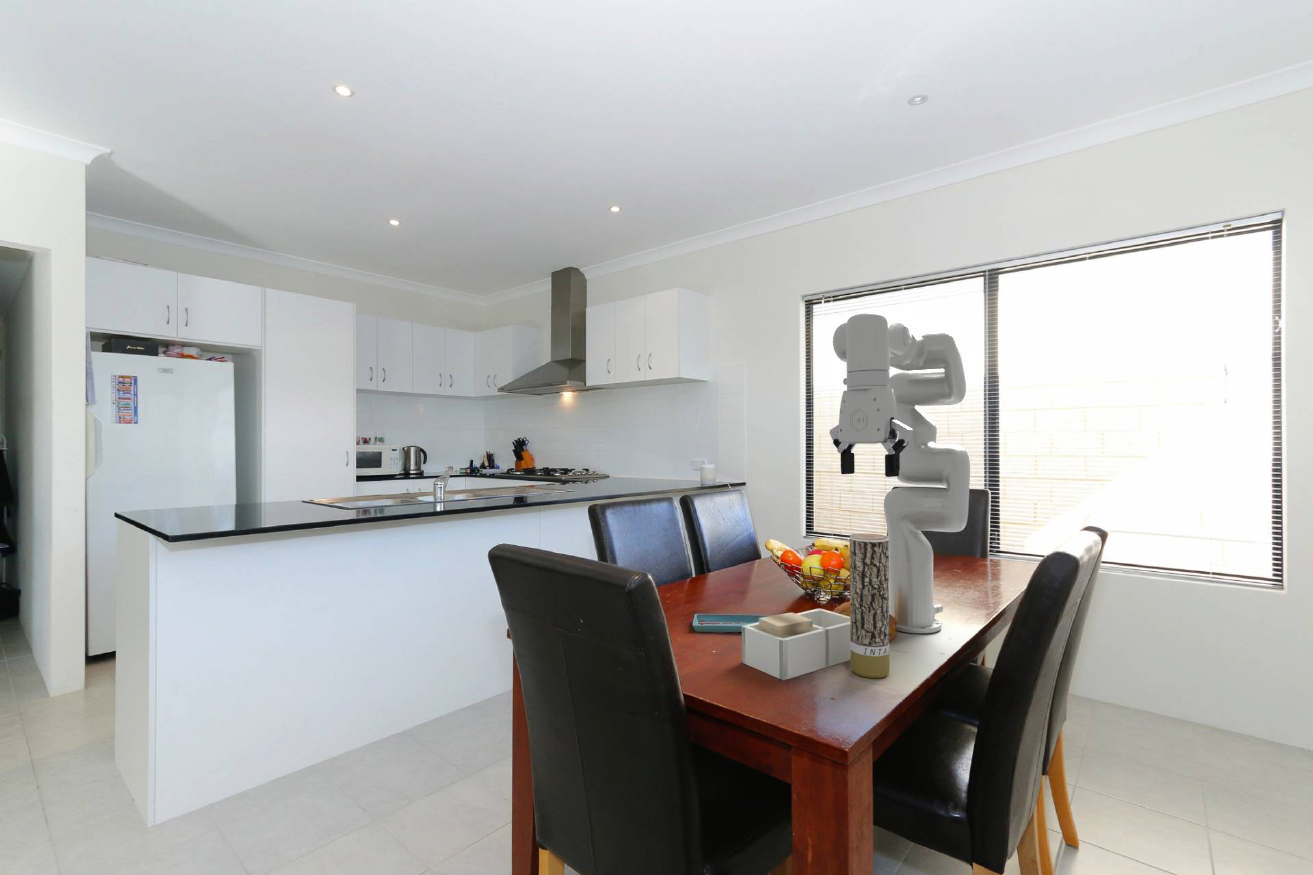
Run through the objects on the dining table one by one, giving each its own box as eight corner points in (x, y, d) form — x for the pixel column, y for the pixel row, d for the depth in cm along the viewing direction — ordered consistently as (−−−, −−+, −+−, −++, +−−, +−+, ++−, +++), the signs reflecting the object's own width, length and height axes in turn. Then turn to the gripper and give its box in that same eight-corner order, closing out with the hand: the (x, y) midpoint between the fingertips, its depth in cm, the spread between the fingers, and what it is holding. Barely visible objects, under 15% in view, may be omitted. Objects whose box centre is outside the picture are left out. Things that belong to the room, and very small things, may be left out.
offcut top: (791, 627, 124) (791, 612, 124) (812, 635, 118) (812, 620, 118) (758, 633, 120) (758, 618, 120) (778, 642, 115) (778, 626, 115)
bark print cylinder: (842, 669, 117) (841, 535, 117) (870, 663, 120) (869, 532, 120) (869, 682, 110) (868, 540, 111) (898, 675, 113) (897, 537, 113)
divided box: (819, 641, 133) (819, 608, 133) (863, 655, 124) (862, 620, 124) (741, 662, 121) (741, 625, 121) (783, 680, 112) (783, 640, 112)
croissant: (820, 648, 135) (817, 612, 134) (841, 620, 148) (838, 588, 147) (890, 659, 127) (887, 621, 127) (905, 628, 140) (903, 594, 140)
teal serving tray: (692, 634, 140) (692, 623, 140) (694, 622, 149) (694, 611, 149) (812, 638, 136) (812, 626, 137) (807, 625, 146) (807, 615, 146)
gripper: (817, 384, 120) (818, 474, 120) (896, 377, 106) (898, 478, 106) (843, 386, 124) (844, 472, 125) (923, 379, 110) (924, 476, 110)
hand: (869, 475), depth 115 cm, fingers open, 9 cm apart
